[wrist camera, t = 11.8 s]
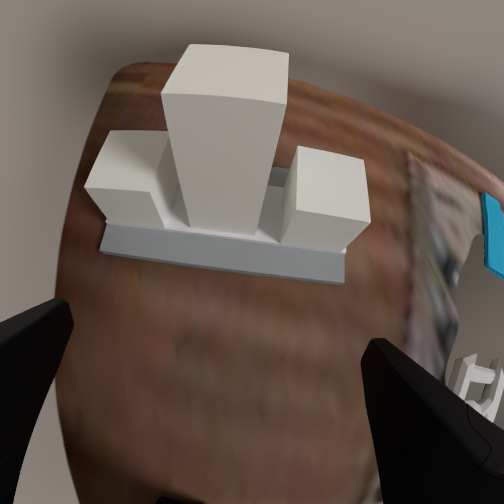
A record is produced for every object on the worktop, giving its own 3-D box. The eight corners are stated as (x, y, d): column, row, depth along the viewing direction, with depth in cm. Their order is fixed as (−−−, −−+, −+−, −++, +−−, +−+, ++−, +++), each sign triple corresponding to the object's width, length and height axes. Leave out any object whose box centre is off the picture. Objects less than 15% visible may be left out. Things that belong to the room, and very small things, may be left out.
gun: (454, 515, 11) (395, 513, 12) (436, 508, 14) (376, 501, 16) (515, 363, 18) (473, 331, 20) (495, 367, 21) (450, 337, 23)
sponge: (506, 208, 28) (486, 187, 28) (511, 282, 24) (492, 264, 23) (499, 212, 29) (479, 192, 29) (502, 285, 25) (483, 268, 25)
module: (254, 236, 22) (286, 104, 10) (190, 228, 22) (160, 93, 10) (260, 186, 24) (288, 52, 11) (202, 179, 23) (190, 43, 11)
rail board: (340, 285, 22) (379, 258, 16) (103, 253, 22) (66, 218, 15) (338, 183, 26) (365, 138, 20) (134, 158, 25) (116, 110, 19)
